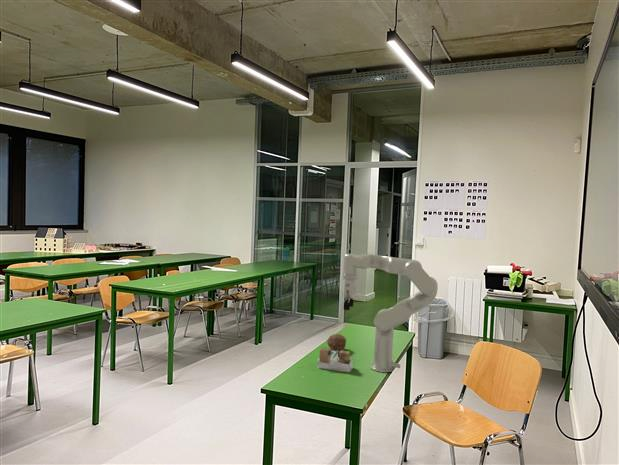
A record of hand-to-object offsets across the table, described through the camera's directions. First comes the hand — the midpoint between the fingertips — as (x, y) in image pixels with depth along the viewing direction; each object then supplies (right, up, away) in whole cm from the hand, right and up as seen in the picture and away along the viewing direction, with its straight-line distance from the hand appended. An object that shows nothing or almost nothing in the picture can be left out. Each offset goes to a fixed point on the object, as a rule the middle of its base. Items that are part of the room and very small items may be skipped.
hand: (348, 308), depth 238 cm
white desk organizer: (-8, -30, -7) cm, 32 cm away
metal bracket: (-8, -31, +5) cm, 32 cm away
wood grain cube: (-3, -28, -8) cm, 29 cm away
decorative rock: (-5, -30, +25) cm, 39 cm away
